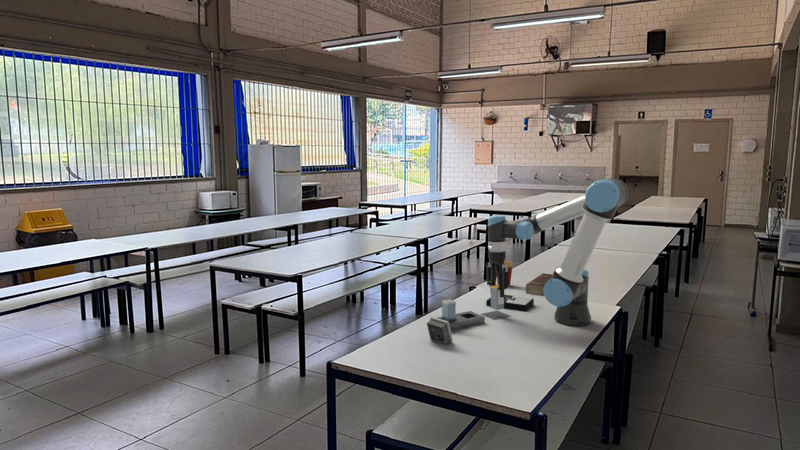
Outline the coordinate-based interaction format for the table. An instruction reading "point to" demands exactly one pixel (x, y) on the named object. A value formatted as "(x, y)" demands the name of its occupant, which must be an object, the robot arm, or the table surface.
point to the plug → (495, 298)
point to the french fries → (508, 272)
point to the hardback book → (538, 284)
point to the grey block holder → (459, 316)
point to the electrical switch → (439, 330)
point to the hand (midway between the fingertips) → (497, 302)
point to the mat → (495, 315)
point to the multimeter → (515, 302)
